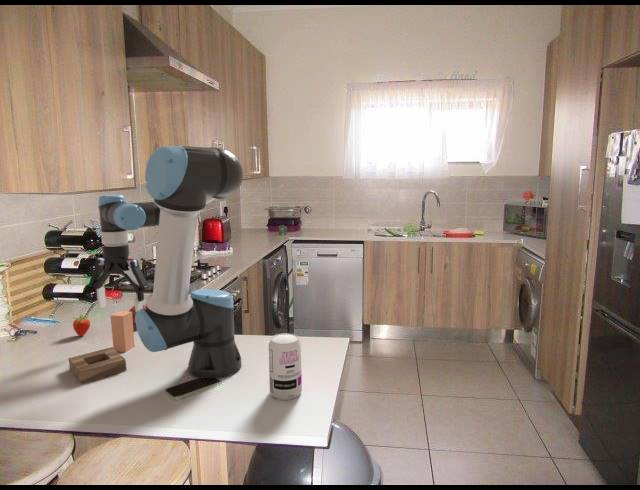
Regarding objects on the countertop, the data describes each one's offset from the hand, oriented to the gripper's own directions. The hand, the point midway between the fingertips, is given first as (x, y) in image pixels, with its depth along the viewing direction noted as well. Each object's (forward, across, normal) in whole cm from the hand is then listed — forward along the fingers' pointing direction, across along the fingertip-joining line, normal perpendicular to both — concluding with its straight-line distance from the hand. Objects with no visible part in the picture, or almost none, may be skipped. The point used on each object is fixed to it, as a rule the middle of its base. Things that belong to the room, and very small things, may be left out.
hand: (120, 309), depth 140 cm
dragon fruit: (+14, +8, -21) cm, 26 cm away
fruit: (+14, +22, -7) cm, 26 cm away
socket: (+13, -3, +16) cm, 21 cm away
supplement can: (+13, -61, +17) cm, 64 cm away
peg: (+13, 0, 0) cm, 13 cm away
